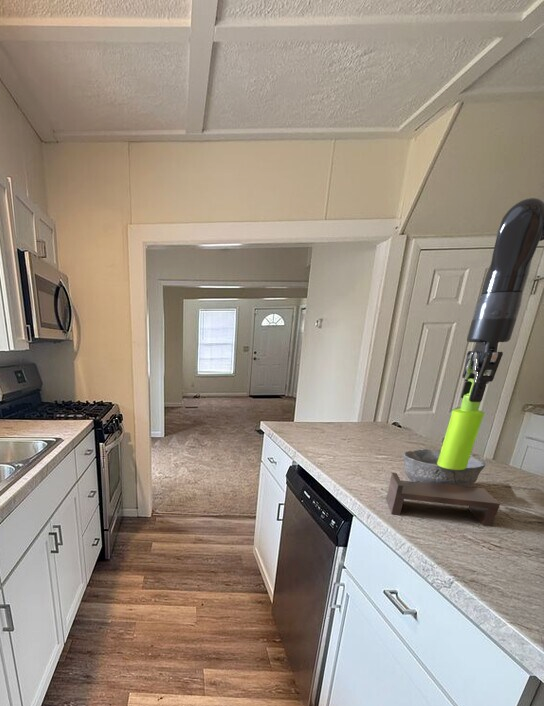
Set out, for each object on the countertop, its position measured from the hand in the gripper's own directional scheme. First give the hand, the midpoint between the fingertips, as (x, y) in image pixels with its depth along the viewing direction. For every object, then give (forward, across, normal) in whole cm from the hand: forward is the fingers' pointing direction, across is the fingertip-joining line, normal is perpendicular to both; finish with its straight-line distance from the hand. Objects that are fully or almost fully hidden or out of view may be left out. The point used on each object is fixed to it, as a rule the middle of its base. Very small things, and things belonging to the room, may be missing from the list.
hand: (470, 399), depth 91 cm
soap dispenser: (+16, 0, 0) cm, 16 cm away
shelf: (+30, +6, -1) cm, 30 cm away
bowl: (+30, +26, -5) cm, 40 cm away
